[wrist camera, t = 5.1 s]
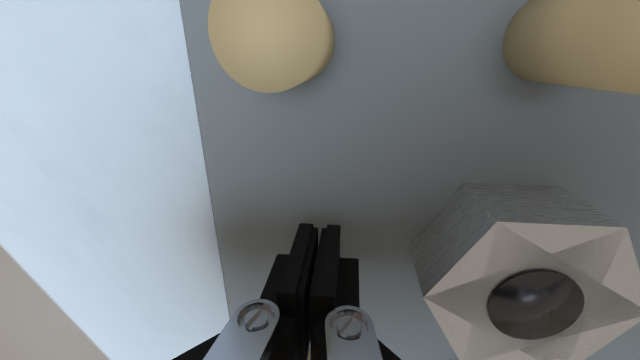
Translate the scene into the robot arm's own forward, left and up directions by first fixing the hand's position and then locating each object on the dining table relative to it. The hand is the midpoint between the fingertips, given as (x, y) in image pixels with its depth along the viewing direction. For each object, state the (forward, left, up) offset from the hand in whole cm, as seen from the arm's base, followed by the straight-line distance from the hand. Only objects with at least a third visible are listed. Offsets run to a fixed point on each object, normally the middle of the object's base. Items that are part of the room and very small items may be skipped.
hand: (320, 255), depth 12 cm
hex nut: (-7, 0, -1) cm, 7 cm away
